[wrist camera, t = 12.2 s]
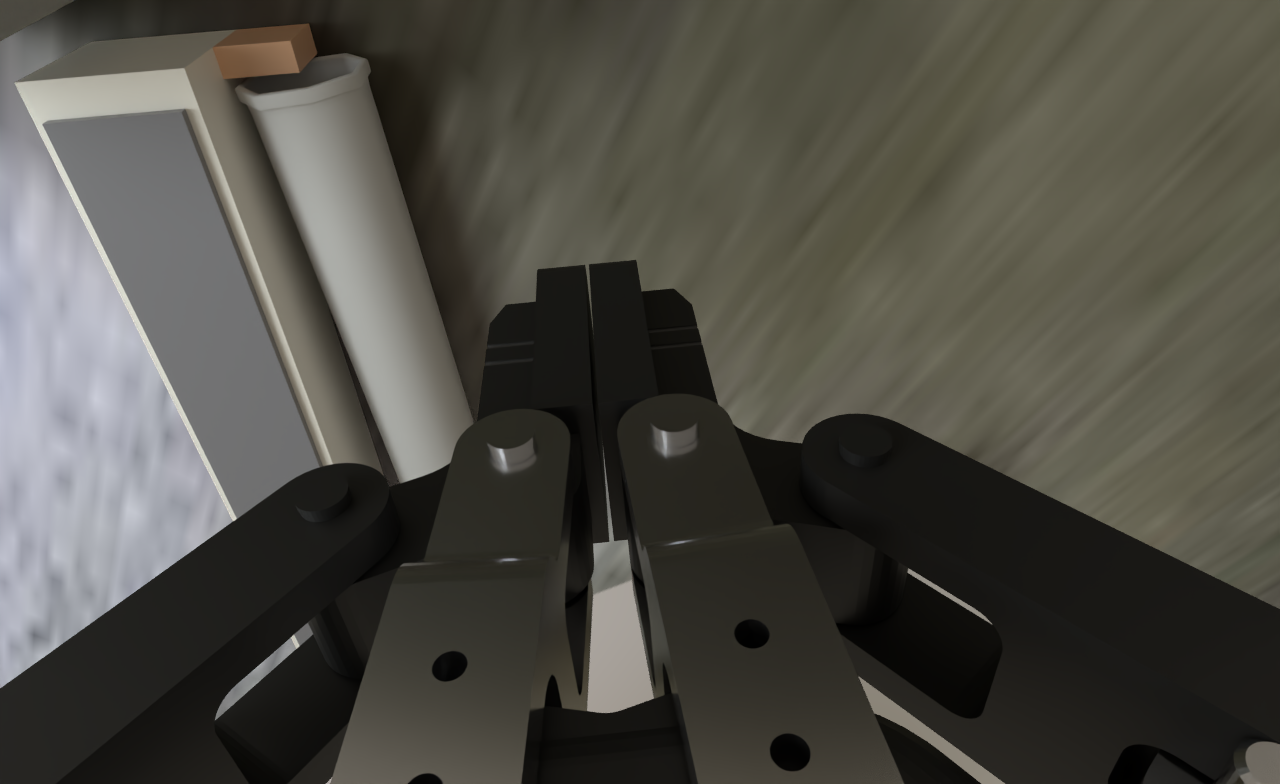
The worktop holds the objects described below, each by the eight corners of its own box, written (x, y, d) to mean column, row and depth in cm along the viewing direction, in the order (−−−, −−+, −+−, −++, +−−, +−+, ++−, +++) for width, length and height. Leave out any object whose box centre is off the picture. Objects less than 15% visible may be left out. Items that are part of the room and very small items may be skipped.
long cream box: (308, 23, 34) (265, 63, 29) (467, 588, 56) (458, 670, 50) (91, 41, 34) (8, 85, 29) (333, 602, 55) (310, 685, 50)
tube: (511, 519, 47) (376, 72, 32) (420, 554, 46) (235, 104, 31) (488, 464, 51) (358, 45, 36) (403, 495, 50) (233, 72, 35)
